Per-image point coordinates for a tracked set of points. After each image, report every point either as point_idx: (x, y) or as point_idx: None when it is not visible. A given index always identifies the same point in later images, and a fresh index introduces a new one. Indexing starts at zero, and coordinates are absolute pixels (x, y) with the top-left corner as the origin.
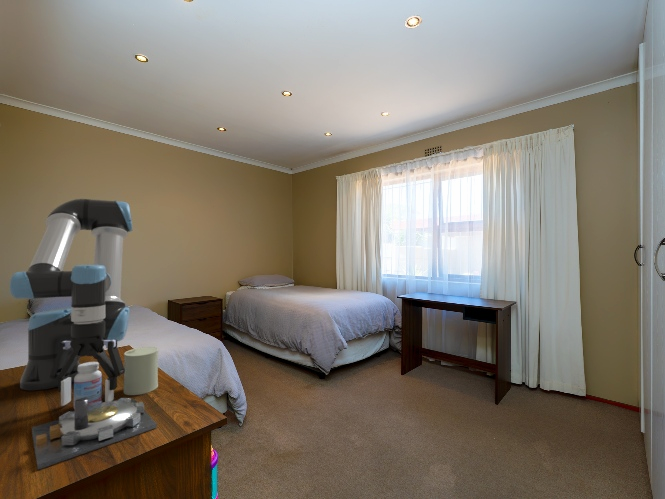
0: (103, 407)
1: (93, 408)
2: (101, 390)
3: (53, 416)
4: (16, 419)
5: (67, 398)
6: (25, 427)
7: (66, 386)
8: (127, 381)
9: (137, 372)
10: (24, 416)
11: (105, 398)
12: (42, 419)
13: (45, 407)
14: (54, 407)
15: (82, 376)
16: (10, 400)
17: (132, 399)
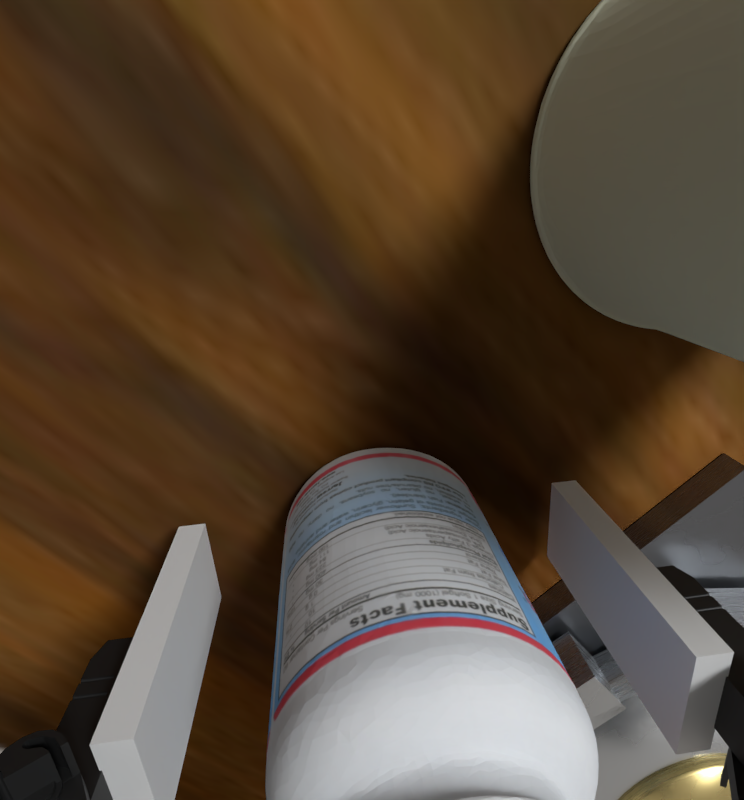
0: (687, 786)
1: (603, 768)
2: (498, 543)
3: (251, 664)
4: (20, 712)
5: (206, 593)
6: (200, 770)
7: (177, 714)
8: (702, 346)
9: None
10: (29, 679)
11: (570, 587)
12: (212, 698)
13: (35, 562)
14: (117, 558)
15: None
16: None
17: (739, 487)
